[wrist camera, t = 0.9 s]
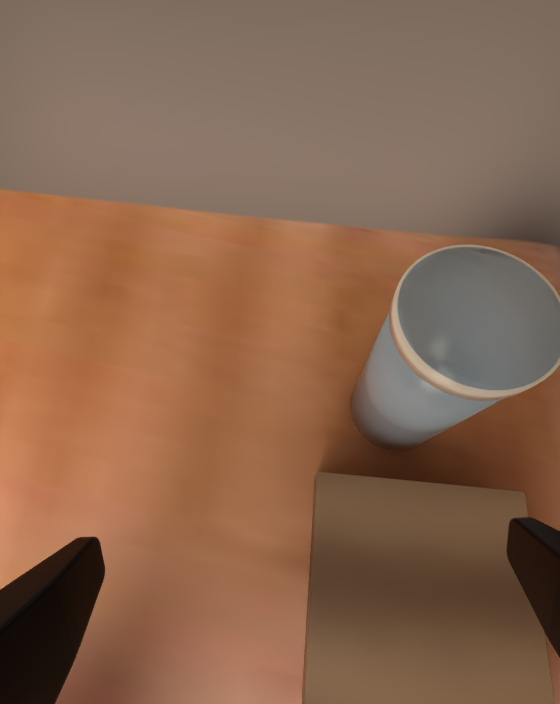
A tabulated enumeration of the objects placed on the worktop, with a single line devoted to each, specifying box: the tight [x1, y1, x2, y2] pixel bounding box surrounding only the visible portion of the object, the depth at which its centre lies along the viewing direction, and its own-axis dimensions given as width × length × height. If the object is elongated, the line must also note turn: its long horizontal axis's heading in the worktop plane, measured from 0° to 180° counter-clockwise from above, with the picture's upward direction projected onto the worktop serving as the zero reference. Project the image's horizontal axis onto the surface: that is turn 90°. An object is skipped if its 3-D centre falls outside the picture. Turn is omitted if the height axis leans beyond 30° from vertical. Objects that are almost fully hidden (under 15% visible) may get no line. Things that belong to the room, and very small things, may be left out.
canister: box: [350, 245, 560, 450], centre depth 18 cm, size 5×5×12 cm
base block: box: [302, 472, 555, 704], centre depth 18 cm, size 10×10×3 cm
